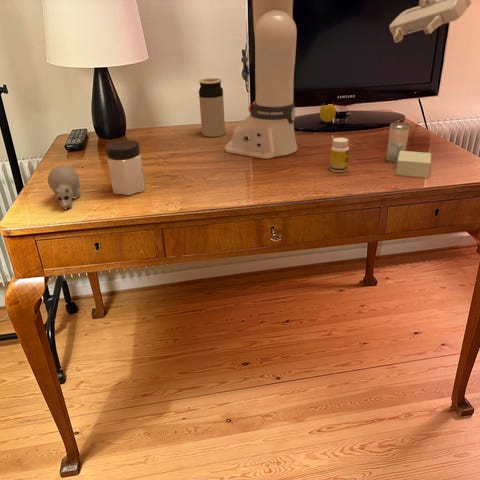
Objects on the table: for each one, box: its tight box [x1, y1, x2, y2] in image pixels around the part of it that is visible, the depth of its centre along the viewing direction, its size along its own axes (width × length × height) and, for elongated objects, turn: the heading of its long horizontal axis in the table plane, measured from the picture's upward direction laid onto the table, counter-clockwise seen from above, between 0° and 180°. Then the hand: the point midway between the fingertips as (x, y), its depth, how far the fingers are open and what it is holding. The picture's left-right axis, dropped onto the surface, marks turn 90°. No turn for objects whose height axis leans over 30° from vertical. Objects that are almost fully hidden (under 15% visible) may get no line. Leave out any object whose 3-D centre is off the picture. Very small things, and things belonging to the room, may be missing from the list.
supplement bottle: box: [329, 137, 350, 173], centre depth 124 cm, size 5×5×8 cm
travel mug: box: [198, 77, 226, 138], centre depth 155 cm, size 8×8×18 cm
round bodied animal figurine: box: [47, 164, 81, 209], centre depth 112 cm, size 7×12×8 cm, turn 11°
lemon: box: [319, 103, 337, 123], centre depth 164 cm, size 6×6×8 cm
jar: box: [105, 139, 146, 196], centre depth 117 cm, size 9×8×12 cm
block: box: [395, 150, 432, 179], centre depth 122 cm, size 8×8×4 cm
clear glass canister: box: [385, 121, 411, 163], centre depth 129 cm, size 5×5×10 cm
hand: (411, 36), depth 119 cm, fingers open, 8 cm apart
